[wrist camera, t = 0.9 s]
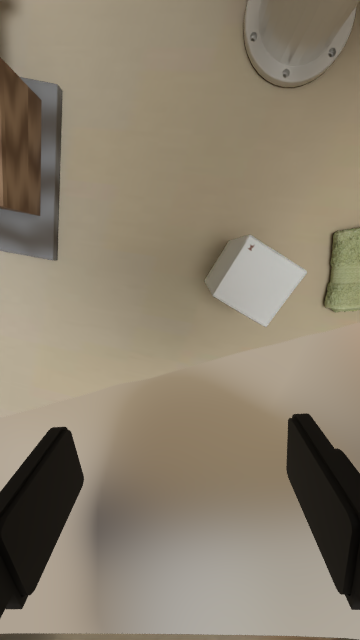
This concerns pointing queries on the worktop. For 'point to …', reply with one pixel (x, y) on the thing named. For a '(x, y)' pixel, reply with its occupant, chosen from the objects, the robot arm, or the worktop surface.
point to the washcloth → (345, 272)
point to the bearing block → (29, 164)
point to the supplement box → (253, 278)
